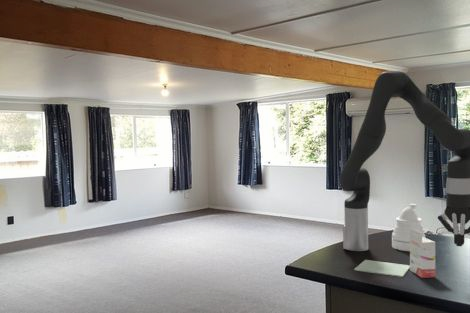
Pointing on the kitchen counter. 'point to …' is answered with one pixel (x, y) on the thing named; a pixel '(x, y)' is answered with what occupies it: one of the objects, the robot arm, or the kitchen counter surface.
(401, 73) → the robot arm
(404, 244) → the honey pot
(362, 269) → the mat
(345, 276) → the kitchen counter surface
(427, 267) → the ink cartridge box
